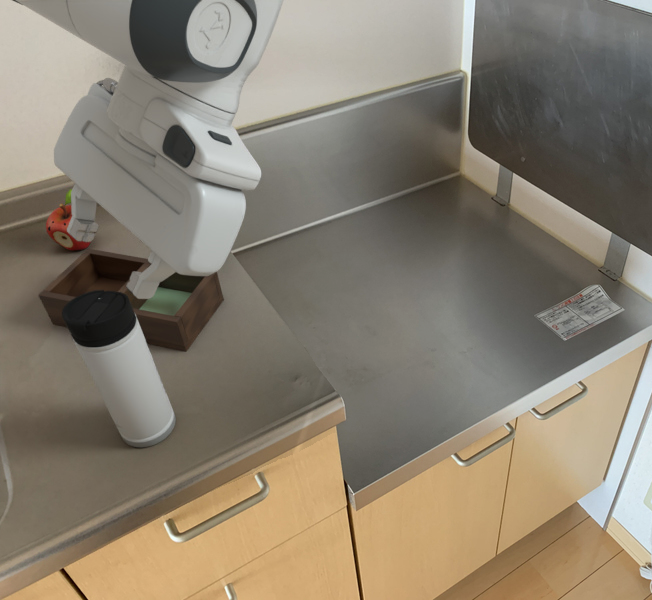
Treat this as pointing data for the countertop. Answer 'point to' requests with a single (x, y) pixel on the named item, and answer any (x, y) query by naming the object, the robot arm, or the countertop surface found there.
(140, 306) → the divided wooden tray
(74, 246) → the apple
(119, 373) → the travel mug
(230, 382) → the countertop surface
